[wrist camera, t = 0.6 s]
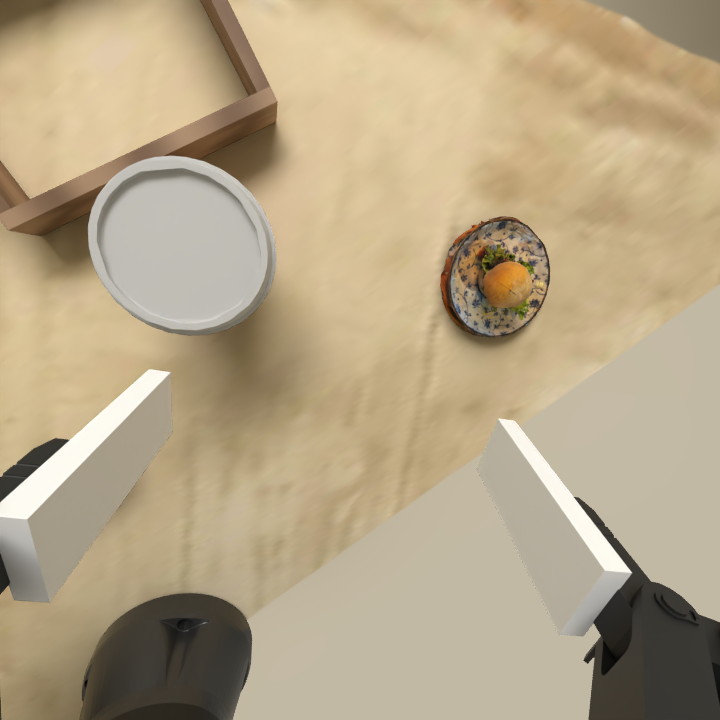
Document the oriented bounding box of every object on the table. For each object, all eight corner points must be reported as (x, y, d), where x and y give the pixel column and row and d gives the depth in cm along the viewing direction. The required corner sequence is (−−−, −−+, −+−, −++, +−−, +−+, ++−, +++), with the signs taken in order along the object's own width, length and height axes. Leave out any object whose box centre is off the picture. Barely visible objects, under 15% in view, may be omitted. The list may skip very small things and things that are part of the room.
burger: (535, 329, 40) (593, 340, 33) (440, 342, 37) (481, 358, 30) (540, 216, 37) (606, 202, 30) (437, 221, 34) (482, 207, 27)
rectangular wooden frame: (40, 236, 26) (7, 230, 23) (-141, 4, 22) (-214, -45, 18) (276, 121, 29) (277, 101, 25) (159, -112, 24) (142, -174, 20)
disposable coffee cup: (199, 336, 31) (161, 371, 19) (124, 234, 28) (27, 205, 16) (293, 281, 32) (309, 284, 20) (231, 177, 29) (208, 112, 17)
